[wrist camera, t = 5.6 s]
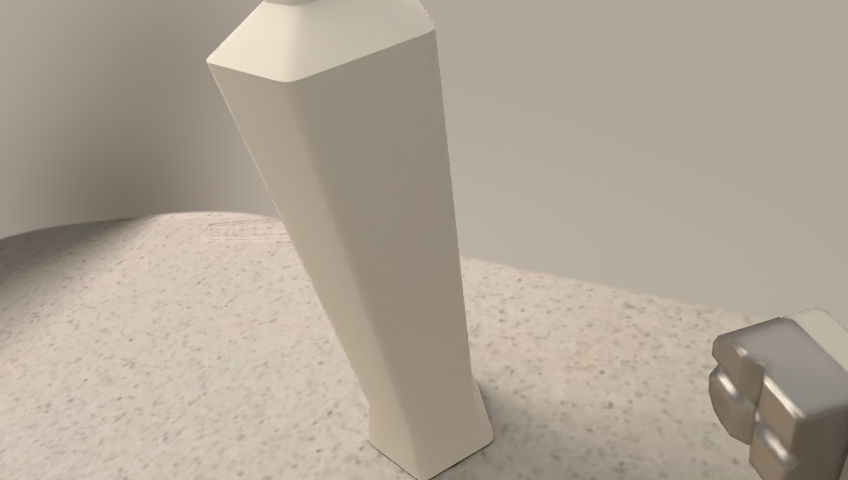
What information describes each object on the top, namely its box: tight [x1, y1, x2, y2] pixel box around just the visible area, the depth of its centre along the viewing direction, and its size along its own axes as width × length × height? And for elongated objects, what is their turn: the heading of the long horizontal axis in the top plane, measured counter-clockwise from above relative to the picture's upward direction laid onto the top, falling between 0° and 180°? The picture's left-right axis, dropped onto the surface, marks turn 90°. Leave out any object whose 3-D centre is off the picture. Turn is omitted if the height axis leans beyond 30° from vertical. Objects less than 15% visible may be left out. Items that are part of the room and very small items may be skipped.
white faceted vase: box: [206, 0, 494, 480], centre depth 16 cm, size 5×4×15 cm
